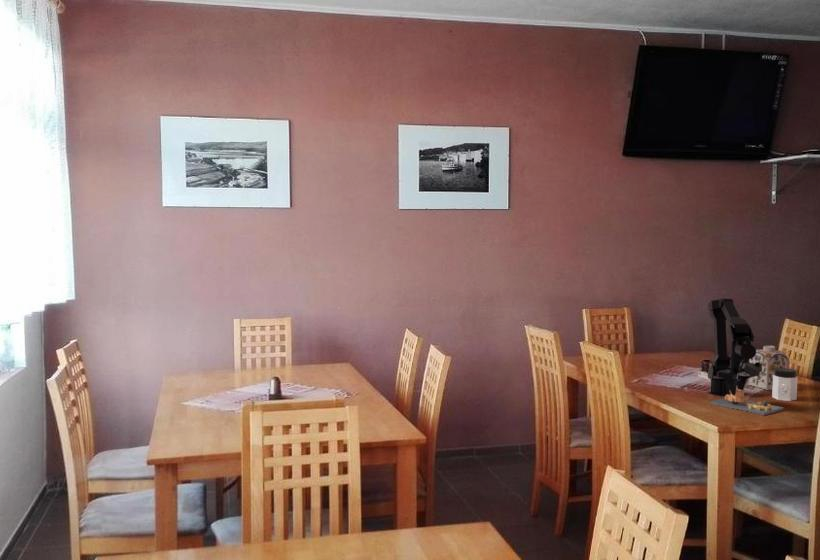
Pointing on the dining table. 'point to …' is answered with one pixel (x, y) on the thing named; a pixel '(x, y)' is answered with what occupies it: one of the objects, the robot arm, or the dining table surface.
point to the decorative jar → (767, 366)
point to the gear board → (749, 406)
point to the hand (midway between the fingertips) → (736, 394)
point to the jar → (784, 384)
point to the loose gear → (737, 396)
